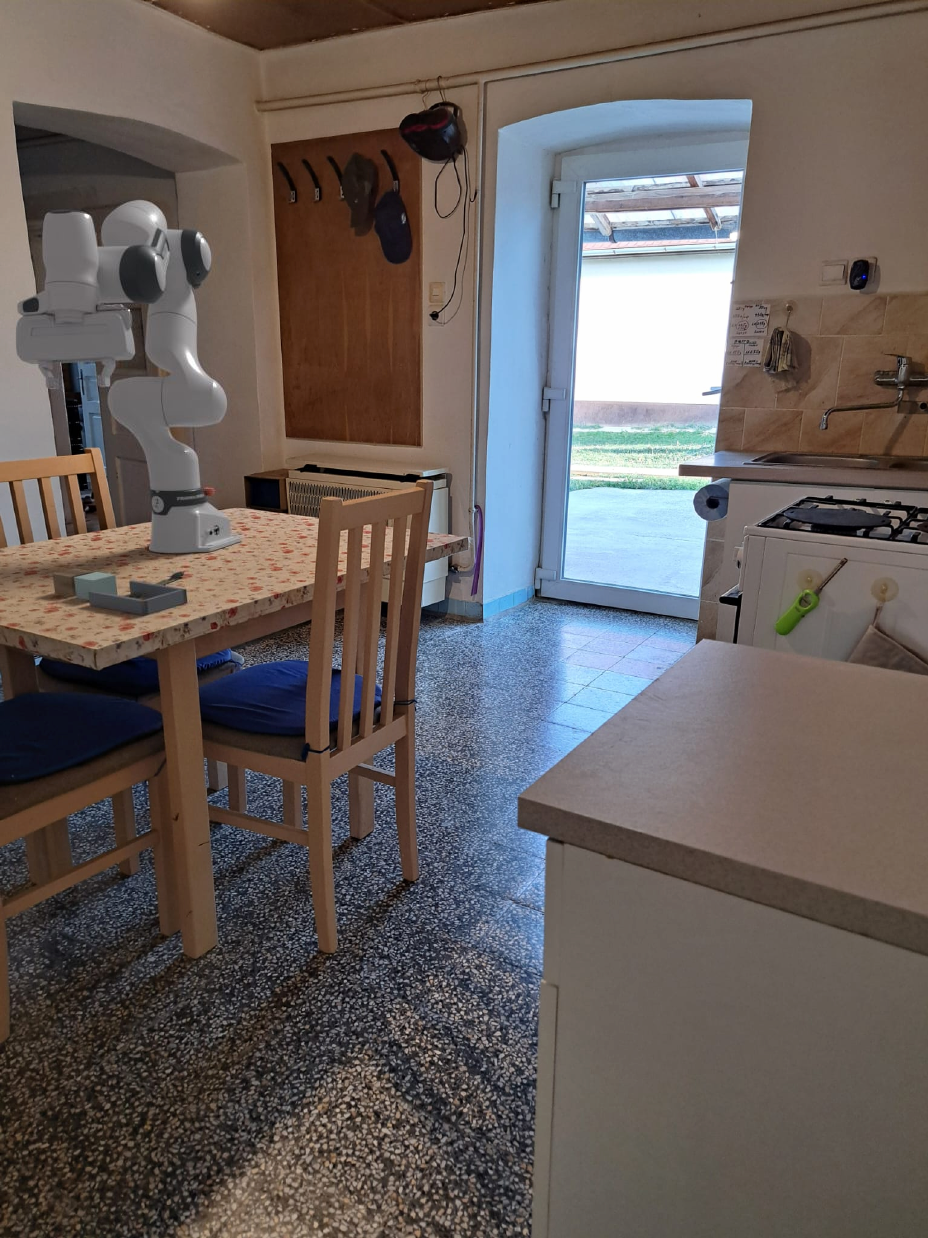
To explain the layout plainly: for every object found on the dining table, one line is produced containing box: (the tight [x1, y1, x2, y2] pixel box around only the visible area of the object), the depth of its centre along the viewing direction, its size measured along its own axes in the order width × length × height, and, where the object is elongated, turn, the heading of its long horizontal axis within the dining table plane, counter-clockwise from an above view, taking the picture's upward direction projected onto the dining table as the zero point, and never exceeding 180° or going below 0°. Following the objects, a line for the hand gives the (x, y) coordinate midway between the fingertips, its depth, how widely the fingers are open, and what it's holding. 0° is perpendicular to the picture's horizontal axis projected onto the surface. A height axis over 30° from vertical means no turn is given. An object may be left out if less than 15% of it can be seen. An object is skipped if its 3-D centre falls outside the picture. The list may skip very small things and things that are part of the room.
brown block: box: [52, 568, 94, 598], centre depth 159 cm, size 5×5×4 cm
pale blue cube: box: [74, 571, 118, 601], centre depth 156 cm, size 5×5×4 cm
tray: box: [88, 579, 188, 616], centre depth 151 cm, size 10×14×2 cm
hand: (78, 387), depth 148 cm, fingers open, 8 cm apart
